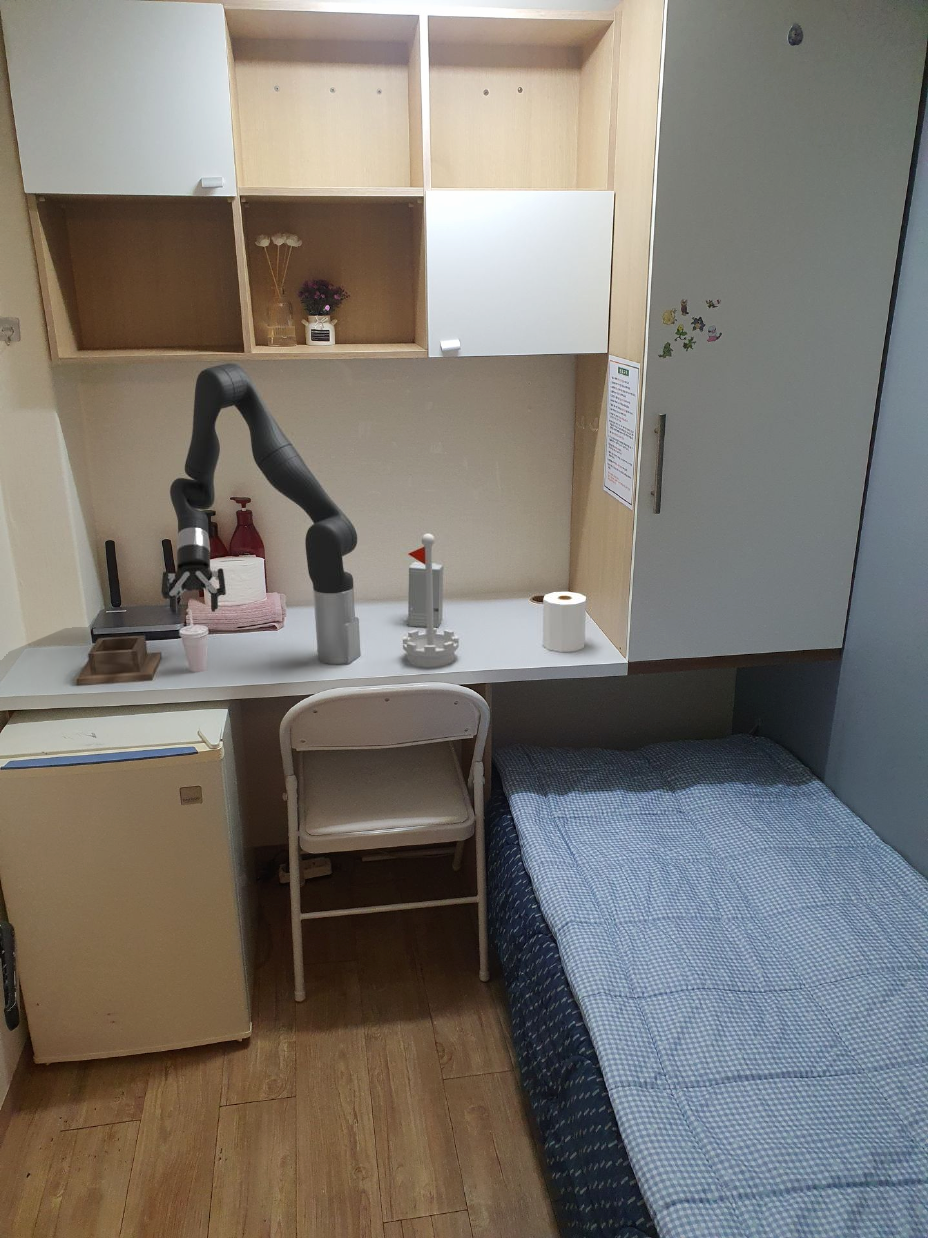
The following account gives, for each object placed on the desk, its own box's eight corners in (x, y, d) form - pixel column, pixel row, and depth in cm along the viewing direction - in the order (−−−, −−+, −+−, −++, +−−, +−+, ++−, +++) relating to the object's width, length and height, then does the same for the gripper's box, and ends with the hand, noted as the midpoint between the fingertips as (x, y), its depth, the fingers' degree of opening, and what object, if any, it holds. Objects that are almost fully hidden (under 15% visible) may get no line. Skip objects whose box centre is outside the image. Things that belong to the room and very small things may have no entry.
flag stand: (467, 652, 216) (465, 529, 206) (445, 671, 205) (443, 542, 195) (417, 645, 221) (413, 525, 211) (393, 664, 209) (388, 538, 200)
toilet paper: (587, 652, 215) (589, 603, 212) (544, 652, 215) (545, 604, 211) (582, 637, 225) (583, 590, 221) (540, 638, 225) (541, 591, 221)
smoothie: (201, 661, 212) (195, 605, 208) (218, 668, 208) (212, 610, 204) (177, 670, 207) (170, 612, 203) (194, 676, 204) (187, 617, 199)
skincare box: (408, 627, 234) (406, 567, 229) (413, 618, 241) (411, 560, 236) (440, 628, 233) (439, 568, 228) (444, 619, 239) (443, 561, 234)
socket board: (161, 657, 215) (158, 632, 213) (152, 680, 202) (148, 653, 200) (91, 662, 213) (87, 636, 210) (76, 685, 199) (72, 657, 197)
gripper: (159, 544, 211) (159, 606, 204) (222, 541, 214) (224, 602, 207) (165, 560, 218) (164, 621, 211) (225, 557, 220) (227, 616, 213)
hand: (194, 611), depth 209 cm, fingers open, 8 cm apart
